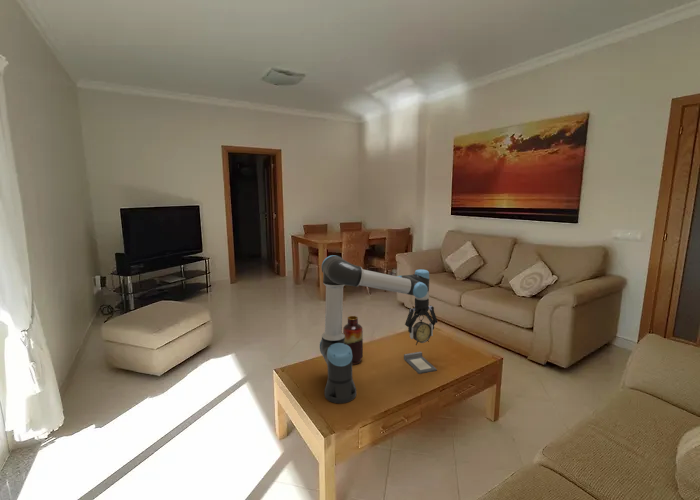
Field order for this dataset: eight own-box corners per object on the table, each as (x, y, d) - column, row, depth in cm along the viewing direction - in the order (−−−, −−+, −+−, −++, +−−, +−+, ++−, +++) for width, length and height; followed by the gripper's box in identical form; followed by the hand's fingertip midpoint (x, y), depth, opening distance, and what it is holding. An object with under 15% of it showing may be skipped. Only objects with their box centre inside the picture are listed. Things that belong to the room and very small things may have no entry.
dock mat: (418, 374, 179) (418, 368, 178) (403, 359, 195) (403, 354, 195) (436, 370, 182) (437, 365, 182) (420, 356, 199) (420, 351, 198)
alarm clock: (416, 346, 181) (416, 318, 179) (409, 343, 186) (410, 315, 183) (432, 342, 186) (432, 314, 184) (425, 339, 191) (426, 311, 188)
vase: (341, 364, 190) (340, 320, 186) (346, 355, 201) (345, 313, 197) (360, 366, 188) (360, 321, 184) (364, 357, 198) (364, 315, 194)
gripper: (405, 302, 175) (404, 342, 178) (444, 297, 182) (443, 336, 185) (398, 298, 182) (398, 336, 186) (437, 294, 189) (436, 331, 192)
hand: (421, 336), depth 185 cm, fingers closed on alarm clock, 11 cm apart
